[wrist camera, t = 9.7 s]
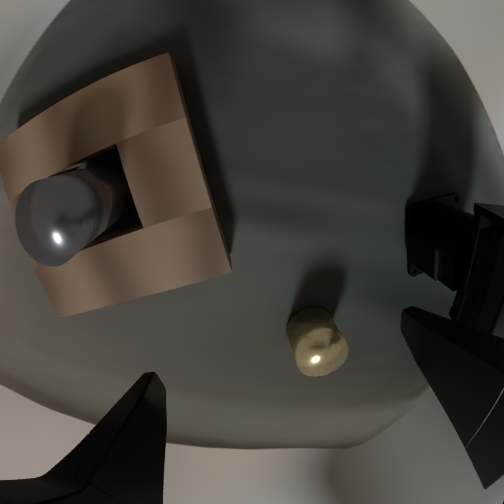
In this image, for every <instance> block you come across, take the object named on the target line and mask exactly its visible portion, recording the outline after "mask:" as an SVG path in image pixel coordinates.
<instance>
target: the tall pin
mask: <svg viewBox="0 0 504 504" xmlns="http://www.w3.org/2000/svg"><path fill="white" fill-rule="evenodd" d="M132 203H133V197H132V194H131V191H130V188H129V185H128V181H127V178H126V175H125V172H124V169H122V168H121V167H119V166H117V165H113V164H104V165H99V166H94V167H89V168H85V169H80V170H76V171H72V172H67V173H63V174H59V175H55V176H51V177H48V178H44V179H40V180H37V181H34V182H32V183H30V184H29V185H28V186H27V187H26V188H25V189H24V190H23V191H22V193H21V195H20V197H19V199H18V202H17V205H16V211H15V224H16V230H17V234H18V237H19V239H20V242H21V244H22V246H23V247H24V249H25V250H26V252H27V253H28V254H29V255H30V256H31V257H32V258H33V259H34V260H36V261H37V262H39V263H40V264H43V265H45V266H50V267H56V266H60V265H63V264H65V263H66V262H68V261H69V260H70V259H71V258H73V257H74V256H75V255H76V254H77V253H78V252H79V251H81V250H82V249H83V248H84V247H85V246H87V245H88V244H89V243H90V242H91V241H93V240H94V239H95V238H96V237H97V236H99V235H100V234H101V233H102V232H104V231H105V230H106V229H107V228H109V227H110V226H111V225H112V224H114V223H115V222H116V221H118V220H119V219H120V218H122V217H123V216H124V215H125V214H126V213H127V212H128V211H129V209H130V207H131V206H132Z"/></svg>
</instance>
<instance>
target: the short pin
mask: <svg viewBox="0 0 504 504" xmlns="http://www.w3.org/2000/svg"><path fill="white" fill-rule="evenodd" d="M286 334H287V337H288V340H289V342H290V345H291V348H292V351H293V354H294V357H295V360H296V363H297V366H298V368H299V370H300V371H301V372H302V373H303V374H305V375H308V376H323V375H326V374H329V373H331V372H333V371H334V370H336V369H337V368H339V367H340V366H341V365H342V364H343V363H344V361H345V360H346V358H347V356H348V352H349V348H348V344H347V343H346V341H345V339H344V338H343V336H342V334H341V333H340V331H339V329H338V328H337V326H336V324H335V323H334V321H333V319H332V318H331V316H330V315H329V313H328V312H327V311H326V310H324V309H322V308H319V307H309V308H305V309H303V310H301V311H299V312H297V313H296V314H295V315H294V316H292V318H291V319H290V320H289V322H288V324H287V327H286Z"/></svg>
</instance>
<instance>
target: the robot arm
mask: <svg viewBox="0 0 504 504" xmlns="http://www.w3.org/2000/svg"><path fill="white" fill-rule="evenodd" d="M455 197H456V198H455ZM412 209H413V211H412V213H411V210H412ZM473 211H474V215H472V214H470V213H467V212H465V211H462V210H460V196H459V194H458V193H450V194H447V195H443V196H439V197H436V198H432V199H428V200H425V201H421V202H417V203H414V204H410V205H408V206H407V208H406V224H407V234H406V236H407V260H408V274H409V275H410V276H412V277H413V276H416V275H419V274H421V273H425V274H427V275H428V276H429V277H431V278H432V279H433V280H435V281H437V280H439V281H440V282H441V283H443V284H444V285H445V286H447V287H448V288H449V289H450V290H452V291H456V290H457V293H456V296H455V299H454V302H453V306H452V307H451V308H450V311H449V315H450V317H451V318H452V320H450V319H448V318H445V317H442V316H439V315H436V314H434V313H431V312H428V311H425V310H422V309H420V308H417V307H414V306H410V307H408V308H405V309H403V310H402V314H401V332H402V335H403V337H404V339H405V341H406V343H407V345H408V347H409V349H410V351H411V353H412V355H413V357H414V359H415V361H416V363H417V365H418V367H419V368H420V370H421V372H422V373H423V375H424V376H425V378H426V380H427V381H428V383H429V385H430V386H431V388H432V390H433V391H434V393H435V395H436V396H437V398H438V400H439V401H440V403H441V405H442V407H443V408H444V410H445V412H446V414H447V415H448V417H449V419H450V421H451V422H452V424H453V426H454V428H455V430H456V432H457V434H458V435H459V438H460V440H461V441H462V443H463V445H464V447H465V449H466V451H467V454H468V456H469V458H470V459H471V461H472V463H473V466H474V468H475V470H476V472H477V474H478V476H479V479H480V481H481V483H482V485H483V487H484V489H487V488H488V487H489V486H491V485H492V484H493V483H495V482H496V481H497V480H498V479H499V478H501V477H502V476H503V475H504V206H502V205H492V204H481V203H474V209H473ZM413 269H414V270H413ZM412 271H413V272H412ZM166 433H167V413H166V389H165V386H164V385H163V383H162V382H161V380H160V378H159V377H158V375H157V374H156V373H155V372H147V373H144V374H143V375H142V376H141V377H140V378H139V379H138V380H137V381H136V382H135V383H134V384H133V386H132V387H131V388H130V389H129V390H128V391H127V392H126V393H125V394H124V395H123V396H122V398H121V399H120V400H119V401H118V402H117V403H116V404H115V405H114V406H113V407H112V408H111V410H110V411H109V412H108V413H107V414H106V415H105V416H104V417H103V418H102V419H101V420H100V421H99V423H98V424H97V425H96V426H95V427H94V428H93V429H92V430H91V431H90V433H89V434H87V436H86V437H85V438H84V439H83V440H82V441H81V442H80V443H79V444H78V445H77V446H76V447H75V448H74V449H73V450H72V451H71V452H70V453H69V454H68V455H67V456H65V457H64V458H63V459H62V460H61V461H60V462H59V463H58V464H56V465H55V466H54V467H53V468H52V469H51V470H50V471H48V472H47V473H46V474H44V475H42V476H40V477H37V478H30V479H18V480H0V504H163V484H164V463H165V447H166ZM503 504H504V502H503Z"/></svg>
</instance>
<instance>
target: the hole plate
mask: <svg viewBox="0 0 504 504" xmlns="http://www.w3.org/2000/svg"><path fill="white" fill-rule="evenodd" d="M116 148H118V152H119V155H120V159H121V162H122V165H123V169H124V172H125V175H126V178H127V181H128V185H129V188H130V191H131V194H132V197H133V200H134V203H135V206H136V209H137V211H138V214H139V217H140V220H141V222H139V223H137V224H134V225H131V226H128V227H125V228H122V229H119V230H117V231H114V232H111V233H108V234H105V235H103V236H100V237H97V238H95V239H94V240H93V241H91V242H90V243H89V244H88V245H87V246H85V247H84V248H83V249H82V250H81V251H79V252H78V253H77V254H76V255H75V256H74V257H73V258H71V259H70V260H69V261H68V262H66V263H65V264H63V265H60V266H56V267H50V266H45V265H43V264H40V263H39V262H37V261H36V260H34V259H33V258H32V257H31V256H30V255H29V254H28V255H29V258H30V260H31V262H32V264H33V267H34V269H35V271H36V273H37V275H38V277H39V279H40V282H41V284H42V286H43V288H44V290H45V292H46V293H47V295H48V297H49V299H50V301H51V303H52V305H53V307H54V308H55V310H56V312H57V314H58V316H59V317H60V318H62V317H66V316H70V315H74V314H78V313H82V312H86V311H90V310H94V309H98V308H102V307H106V306H110V305H114V304H118V303H122V302H125V301H129V300H133V299H137V298H141V297H145V296H148V295H152V294H156V293H160V292H163V291H167V290H171V289H175V288H178V287H182V286H186V285H190V284H193V283H197V282H201V281H204V280H208V279H212V278H215V277H219V276H223V275H226V274H230V273H232V266H231V257H230V254H229V251H228V247H227V244H226V241H225V238H224V234H223V231H222V228H221V224H220V221H219V218H218V215H217V211H216V208H215V204H214V201H213V198H212V194H211V191H210V188H209V184H208V181H207V177H206V174H205V170H204V167H203V164H202V160H201V157H200V153H199V150H198V146H197V143H196V139H195V135H194V132H193V128H192V125H191V121H190V118H189V114H188V110H187V107H186V103H185V99H184V96H183V92H182V88H181V84H180V81H179V77H178V73H177V69H176V66H175V63H174V61H173V59H172V57H171V56H170V54H169V52H168V53H165V54H162V55H159V56H156V57H153V58H150V59H148V60H145V61H142V62H140V63H137V64H135V65H132V66H130V67H127V68H125V69H123V70H120V71H118V72H116V73H114V74H111V75H109V76H107V77H105V78H103V79H101V80H99V81H97V82H95V83H93V84H91V85H89V86H87V87H85V88H83V89H81V90H79V91H77V92H75V93H74V94H72V95H70V96H68V97H66V98H65V99H63V100H61V101H60V102H58V103H56V104H55V105H53V106H51V107H50V108H48V109H47V110H45V111H43V112H42V113H40V114H39V115H37V116H36V117H34V118H33V119H31V120H30V121H29V122H27V123H26V124H24V125H23V126H22V127H20V128H19V129H17V130H16V131H15V132H13V133H12V134H11V135H9V136H8V137H7V138H6V139H4V140H3V141H2V142H1V143H0V171H1V175H2V179H3V183H4V186H5V190H6V193H7V197H8V200H9V203H10V207H11V210H12V213H13V216H14V219H15V211H16V205H17V202H18V199H19V197H20V195H21V193H22V191H23V190H24V189H25V188H26V187H27V186H28V185H29V184H30V183H32V182H34V181H37V180H40V179H44V178H48V177H51V176H55V175H59V174H63V173H66V172H67V171H69V170H71V169H73V168H75V167H77V166H79V165H81V164H83V163H85V162H87V161H89V160H91V159H93V158H95V157H98V156H100V155H102V154H104V153H107V152H109V151H111V150H113V149H116Z"/></svg>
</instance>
